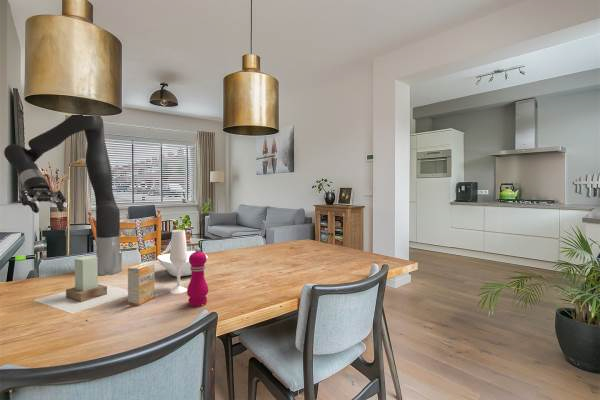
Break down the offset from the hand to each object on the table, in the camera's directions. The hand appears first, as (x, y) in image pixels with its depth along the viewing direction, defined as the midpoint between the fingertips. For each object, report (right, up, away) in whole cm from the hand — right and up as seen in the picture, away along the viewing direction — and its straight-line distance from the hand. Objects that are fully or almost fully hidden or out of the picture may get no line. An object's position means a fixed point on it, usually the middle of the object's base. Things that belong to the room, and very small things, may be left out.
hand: (50, 211), depth 124 cm
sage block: (+24, -28, -13) cm, 38 cm away
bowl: (+46, -31, +20) cm, 59 cm away
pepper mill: (+65, -33, -15) cm, 74 cm away
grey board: (+24, -32, -12) cm, 41 cm away
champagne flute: (+53, -32, -2) cm, 62 cm away
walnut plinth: (+24, -31, -12) cm, 41 cm away
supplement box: (+44, -32, -14) cm, 56 cm away
